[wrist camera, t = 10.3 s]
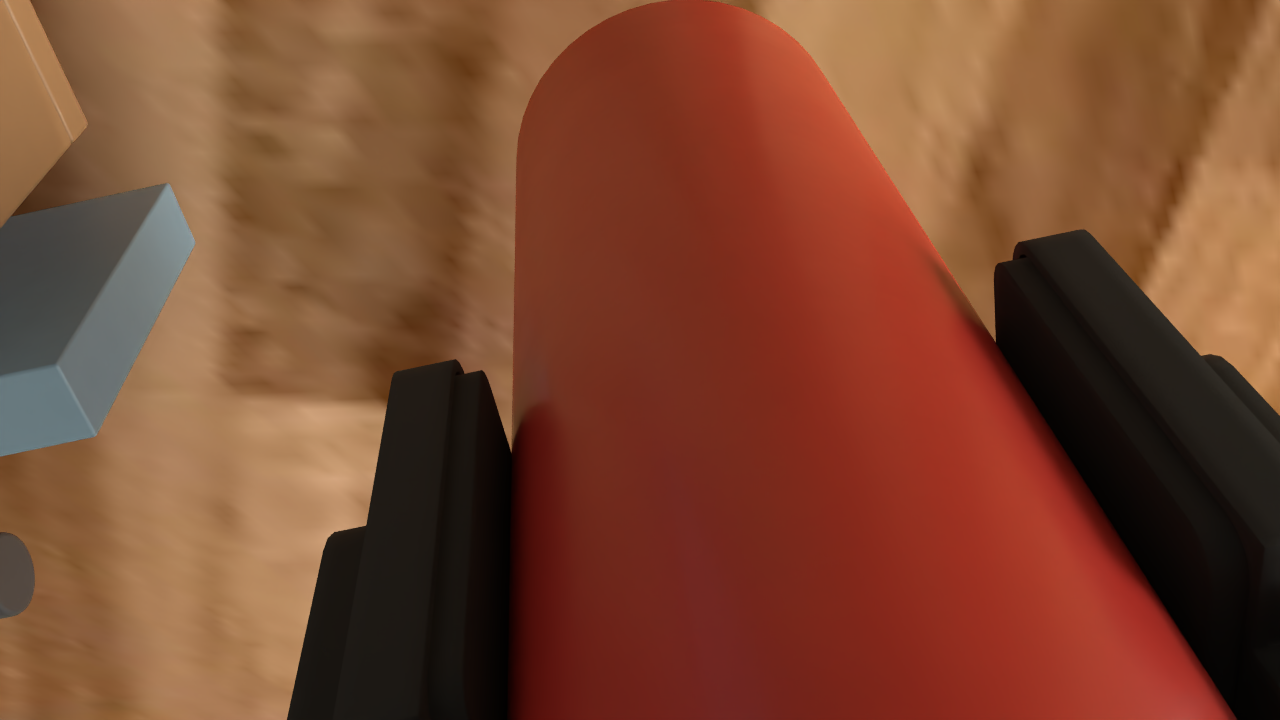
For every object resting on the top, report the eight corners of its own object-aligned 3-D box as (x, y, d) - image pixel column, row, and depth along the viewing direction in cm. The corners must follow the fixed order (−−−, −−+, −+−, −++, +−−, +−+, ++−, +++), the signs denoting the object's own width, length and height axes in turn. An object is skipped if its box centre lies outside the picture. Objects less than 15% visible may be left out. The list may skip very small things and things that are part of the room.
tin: (557, 329, 17) (603, 1338, 7) (479, 38, 15) (382, 933, 5) (854, 268, 17) (1325, 1209, 7) (822, -37, 15) (1461, 726, 5)
